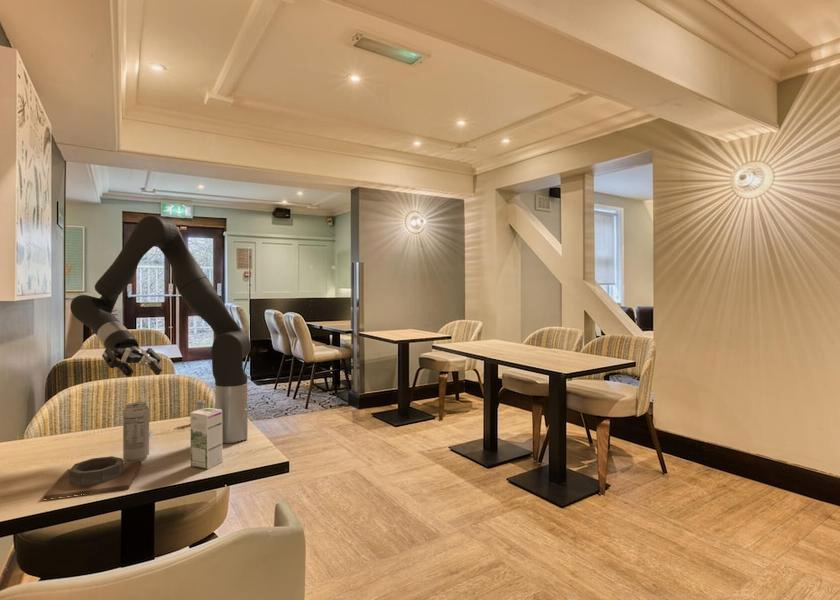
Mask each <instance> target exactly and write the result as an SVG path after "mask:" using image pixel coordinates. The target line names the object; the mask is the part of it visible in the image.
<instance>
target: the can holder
mask: <svg viewBox="0 0 840 600" xmlns="http://www.w3.org/2000/svg"><path fill="white" fill-rule="evenodd" d="M141 466H142V461H135V462H124V458H123V457H122V458H121V457H117V456H110V455H109V456H104V457H103V456H101V457H94V458H90V459H87V460H83V461H80V462H78V463H75V464H73V465H72V467H70V468H67V469H66V470H65V472H64V473H63V474H62V475H61V476H60V477H59V478H58V479H57V480H56V482H55V483H54V484H53V485H52V486H51V487H50V488H49V489H48V490H47V491H46V493H45V494H44V495H43V500H44V499H51V498H59V497H66V498H68V497H67V496H74V495H81V494H82V495H81V496H84V495H83V494H89V495H91V494H90V493H96V494H102V493H101V492H104V493H110V491H111V492H118V491H124V490H129V489H130V488H131V486H132V483H133V481H134V480H135V478H136V476H137V474H138V473H139V470H140V468H141ZM74 497H75V496H74ZM59 499H60V498H59ZM51 500H52V499H51Z"/></svg>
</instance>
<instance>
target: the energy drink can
mask: <svg viewBox="0 0 840 600" xmlns="http://www.w3.org/2000/svg"><path fill="white" fill-rule="evenodd" d="M122 421H123V422H122V426H123V427H122V431H123V432H122V441H123V442H122V450H123V452H122V454H123V455H122V459H123V460H125V463H127V462H135V461H141V462H142V461H144V460H146V459H147V458H148V456H149V455H150V442H149V434H150V408H149V407H148V405H147V402H143V401H139V402H131V403H128V404H127V403H126V405H125V408H124V410H123V411H122Z"/></svg>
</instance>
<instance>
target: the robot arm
mask: <svg viewBox="0 0 840 600" xmlns="http://www.w3.org/2000/svg"><path fill="white" fill-rule="evenodd" d="M154 247H156V248H158V249H159V250H160V252H162V254H163V255H164V257H165V258H166V259H167V261H168V262H169V264H170V267H171V270H172V276H173V281H174V285H175V288H176V289H177V291H178V293H179V295H180V297H182V299H183V300H184V303H185V304H186V305H187V307H189V308H190V309H191V310H192V312H194V313H195V314H196V315H197V316H198V317H199V318H201V320H203V321H204V322H205V323H206V324H208V326H209V327H210V328H211V330H212V331H213V332H214V334H215V336H216V338H215V339H214V340H213V343H212V346H211V368H212V370H211V371H212V376H213V378H214V382H215V383H214V386H215V387H214V391H215V392H214V409H221V410H222V444H233V443H234V444H235V443H239V442H242V441H246V440H245V439H247V440H248V427H249V426H248V421H249V419H248V417H249V416H248V374H247V373H246V372H245V371H244V367H243V366H244V361H243V360H244V358H246V357H247V356H248V355H249V354H250V352H251V349H252V348H251V347H252V346H251V341H250V338H249V336H248V335H247V334H246V332H245V331H244V330H243V329H242V327H240V325H239V324H238V322H237V321H236V320H235V318H234V317H233V316H232V315H231V314H230V312H229V310H228V308H227V307H226V305H225V304H224V302H223V300H222V299H221V297H220V296H219V294H218V293H217V291H216V289H215V288H214V286H213V284H212V282H211V281H210V279H209V278H208V276H207V275H206V274H205V272H204V271H203V269H202V267H201V266H200V265H199V263H198V262H197V260H196V259H195V257H194V255H193V254H192V252H191V251H190V249H189V247H188V244H187V243H186V241H185V240H184V237H183V235H182V233H181V232H180V229H179V227H178V226H177V225H176V223H174V221H172V220H170V219H168V218H165V217H160V216H157V215H146V216H144V217H142V218H141V219H140V220H139V221H138V223H137V224H136V226H135V227H134V229H133V230H132V231H131V233H130V236H129V237H128V239H127V240H126V242H125V244H124V245H123V248H122V249H121V251H120V252H119V254H118V255H117V256H116V258H115V260H114V261H113V262H112V263H111V265H110V266H109V267H108V268H107V270H106V271H105V272H104V273H103V274H102V276H101V277H99V279H98V280H97V281H96V283H95V285H94V290H95V291H96V293H97V294H99V295H100V297H96V296H91V295H86V294H80V295H77V296H75V297H74V298H73V299H72V300H71V302H70V307H69V308H70V311H71V313H72V315H73V317H75V319H76V320H78V321H79V322H80V323H82V324H83V325H85V326H86V327H87V328H89V329H91V330H92V332H93V333H94V335H96V337H97V338H98V340H99V342H100V343H101V345H102V346H103V347H104V349H105V350H104V351H103V353H102V355H101V357H102V358H103V360H104V361H105V363H106V364H107V365H108V367H109V368H110V369H115V368H117V369H118V370H120V371H121V372H122V374H123V375H125V377H127V378H130V377H132V375H133V374H134V369H132V367H131V366H130V365H129V364H133V363H134V364H139V365H140V366H146V367H149V369H150V370H151V371H152V373H153V374H154V375H155V376H159V375H160V374H161V373H162V367H161V365H159V364H160V362H161V360H162V358H161V356H159V354H157V353H156V352H155V351H154V350H153V349H152V348H150V347H148V348H147V349H145V350H144V349H143V348H140V346H139V341H138V339H136V337H135V336H134V334H132V333H131V331H130V330H129V329H128V328H127V327H126V326H125V325H123V324H122V322H120V320H119V319H118V318H117V317H116V316H115V315H114V314H113V310H114V307H115V305H116V304H117V302H118V299H119V296H120V295H121V294H122V292H123V291H125V289H126V288H127V287H128V286H129V285H130V283H131V282H132V281H133V279H134V277H135V275H136V273H137V269H138V266H139V263H140V262H141V260H142V258H143V257H144V256H145V255H146V254H147V253H148V252H149V251H150V250H152V248H154ZM143 357H144V359H143ZM142 359H143V360H142ZM148 361H149V362H148ZM241 440H242V441H241ZM238 441H239V442H238Z"/></svg>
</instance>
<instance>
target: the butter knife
mask: <svg viewBox="0 0 840 600" xmlns="http://www.w3.org/2000/svg"><path fill="white" fill-rule="evenodd" d="M152 430H153V431H152ZM152 430H151V431H152V432H151V431H150V432H151V434H150V433H149V434H150V435H149V441H150V440H151V439H152V437H153V436H154V434H155V431H156V430H157V429H152ZM154 437H155V436H154ZM154 437H153V438H154ZM152 440H153V439H152Z"/></svg>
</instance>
